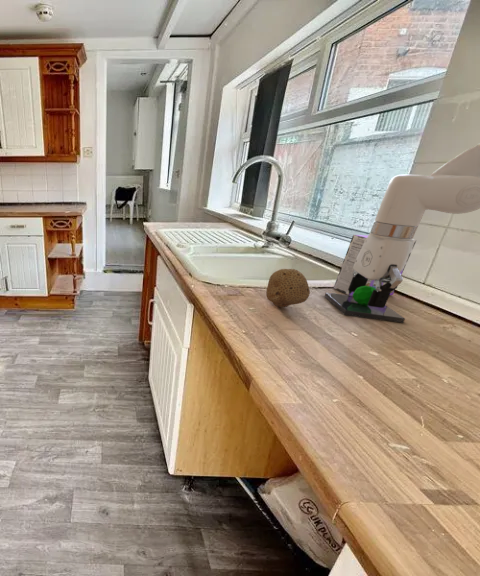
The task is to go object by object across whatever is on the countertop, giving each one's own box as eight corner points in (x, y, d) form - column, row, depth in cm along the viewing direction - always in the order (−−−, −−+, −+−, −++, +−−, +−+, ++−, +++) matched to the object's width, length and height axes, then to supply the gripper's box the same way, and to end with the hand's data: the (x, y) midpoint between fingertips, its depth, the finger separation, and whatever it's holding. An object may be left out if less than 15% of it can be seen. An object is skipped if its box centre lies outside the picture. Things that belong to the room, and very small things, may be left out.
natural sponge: (307, 309, 76) (320, 271, 72) (296, 319, 71) (309, 278, 67) (269, 297, 82) (279, 261, 79) (256, 305, 77) (266, 267, 73)
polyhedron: (353, 305, 76) (360, 288, 75) (347, 298, 81) (353, 282, 79) (378, 310, 75) (386, 292, 73) (370, 302, 79) (377, 285, 77)
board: (374, 302, 82) (376, 298, 82) (403, 323, 71) (405, 318, 71) (324, 296, 85) (325, 292, 84) (344, 314, 74) (346, 310, 74)
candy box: (374, 288, 93) (396, 235, 87) (393, 296, 87) (418, 239, 81) (332, 287, 92) (352, 233, 85) (348, 295, 86) (371, 238, 80)
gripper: (355, 223, 79) (332, 285, 86) (396, 237, 64) (365, 310, 70) (389, 226, 78) (364, 288, 84) (440, 240, 62) (404, 315, 68)
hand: (364, 298), depth 77 cm, fingers open, 9 cm apart
